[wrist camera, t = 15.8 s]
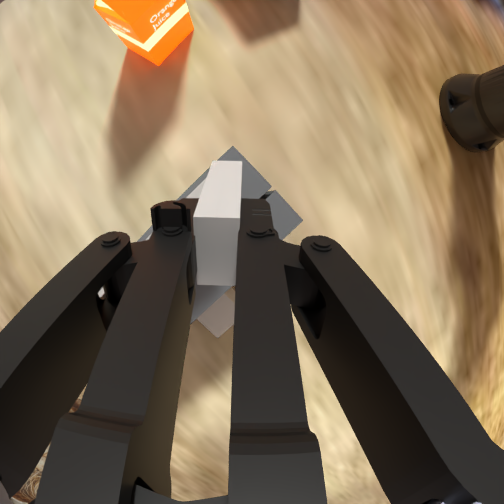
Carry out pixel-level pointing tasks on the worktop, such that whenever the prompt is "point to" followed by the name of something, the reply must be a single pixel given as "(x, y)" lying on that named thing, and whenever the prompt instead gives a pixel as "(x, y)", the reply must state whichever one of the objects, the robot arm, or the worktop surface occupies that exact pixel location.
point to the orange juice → (148, 25)
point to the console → (250, 188)
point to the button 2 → (220, 314)
